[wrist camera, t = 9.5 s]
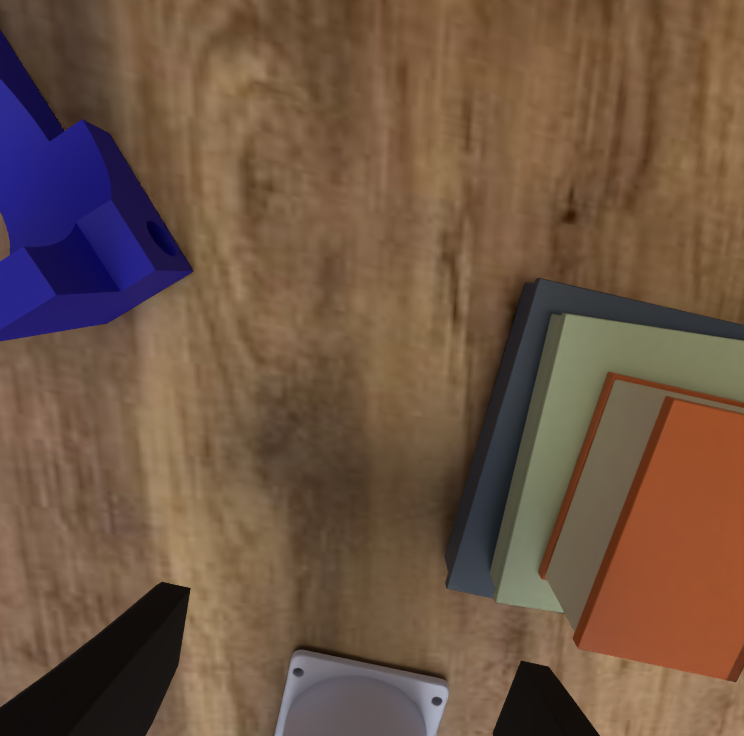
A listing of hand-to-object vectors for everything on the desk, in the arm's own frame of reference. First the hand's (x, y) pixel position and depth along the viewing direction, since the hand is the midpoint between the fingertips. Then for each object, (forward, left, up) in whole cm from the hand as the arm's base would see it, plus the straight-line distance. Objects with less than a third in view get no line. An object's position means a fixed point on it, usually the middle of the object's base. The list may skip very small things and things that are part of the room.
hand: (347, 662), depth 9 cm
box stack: (+2, -10, -10) cm, 14 cm away
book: (+3, -10, -7) cm, 12 cm away
